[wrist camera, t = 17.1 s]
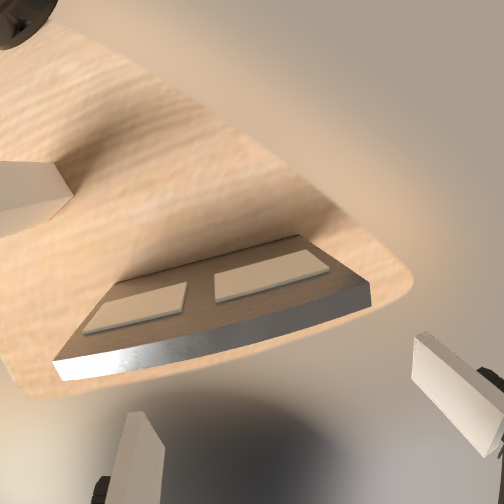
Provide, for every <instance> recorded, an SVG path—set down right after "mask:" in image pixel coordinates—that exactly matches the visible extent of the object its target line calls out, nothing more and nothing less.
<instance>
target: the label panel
mask: <svg viewBox="0 0 504 504" xmlns="http://www.w3.org/2000/svg"><path fill="white" fill-rule="evenodd" d="M370 306H372V305H371V294H370V284H369V282H368V281H366V280H365V279H363V278H362V277H361V276H359V275H358V274H356V273H355V272H353V271H352V270H350V269H349V268H348V267H346V266H345V265H343V264H342V263H340V262H339V261H337V260H336V259H334V258H333V257H331V256H330V255H329V254H327V253H326V252H324V251H323V250H321V249H320V248H318V247H317V246H315V245H314V244H312V243H311V242H309V241H308V240H306V239H305V238H303V237H302V236H300V235H299V234H298V235H294V236H291V237H287V238H283V239H279V240H275V241H272V242H268V243H264V244H260V245H257V246H253V247H249V248H245V249H242V250H238V251H234V252H231V253H227V254H223V255H219V256H216V257H212V258H208V259H204V260H201V261H197V262H193V263H190V264H186V265H182V266H178V267H175V268H171V269H167V270H164V271H160V272H156V273H153V274H149V275H145V276H142V277H138V278H134V279H131V280H127V281H123V282H120V283H116V284H114V285H113V286H112V287H111V288H110V290H109V291H108V292H107V293H106V294H105V296H104V297H103V298H102V299H101V300H100V302H99V303H98V304H97V305H96V306H95V308H94V309H93V310H92V311H91V312H90V314H89V315H88V316H87V317H86V319H85V320H84V321H83V322H82V324H81V325H80V326H79V327H78V329H77V330H76V331H75V332H74V334H73V335H72V336H71V338H70V339H69V340H68V341H67V343H66V344H65V345H64V347H63V348H62V349H61V351H60V352H59V353H58V355H57V356H56V357H55V359H54V360H53V361H52V362H53V364H54V366H55V368H56V369H57V371H58V373H59V375H60V376H61V378H62V380H63V381H67V380H75V379H83V378H90V377H97V376H103V375H110V374H116V373H122V372H128V371H133V370H139V369H144V368H150V367H155V366H160V365H165V364H170V363H174V362H179V361H184V360H188V359H193V358H197V357H201V356H206V355H210V354H214V353H218V352H222V351H226V350H230V349H234V348H238V347H242V346H246V345H250V344H253V343H257V342H261V341H264V340H268V339H271V338H275V337H278V336H282V335H285V334H288V333H292V332H295V331H298V330H302V329H305V328H308V327H311V326H314V325H318V324H321V323H324V322H327V321H330V320H333V319H336V318H339V317H342V316H345V315H348V314H351V313H354V312H356V311H359V310H362V309H365V308H368V307H370Z"/></svg>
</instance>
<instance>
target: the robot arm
mask: <svg viewBox="0 0 504 504" xmlns="http://www.w3.org/2000/svg"><path fill="white" fill-rule="evenodd" d="M57 2H58V0H0V50H7V49H11V48H13V47H15V46H17V45H19V44H21V43H22V42H24V41H25V40H27V39H28V38H29V37H31V36H32V35H33V34H34V33H35V32H36V31H37V30H38V29H39V28H40V27H41V26H42V25H43V24H44V23H45V21H46V20H47V19H48V17H49V16H50V15H51V13H52V12H53V10H54V8H55V6H56V4H57ZM412 380H413V381H414V382H415V383H416V384H417V385H418V386H419V387H420V388H421V389H422V390H423V392H424V393H425V394H426V395H427V396H428V397H429V398H430V399H431V400H432V401H433V402H434V403H435V404H436V406H437V407H438V408H439V409H440V410H441V411H442V412H443V413H444V414H445V415H446V416H447V417H448V419H449V420H450V421H451V422H452V423H453V424H454V425H455V426H456V427H457V428H458V429H459V431H460V432H461V433H462V434H463V435H464V436H465V437H466V438H467V439H468V441H469V442H470V443H471V444H472V445H473V446H474V447H475V448H476V449H477V451H478V452H479V453H480V454H481V455H482V456H483V457H486V456H487V455H488V454H490V453H491V452H492V451H494V450H495V449H496V448H497V446H498V445H499V443H500V441H501V440H502V441H503V442H504V380H503V379H502V378H501V377H500V378H499V376H498V375H497V374H496V373H494V372H493V371H492V370H489V369H486V368H483V367H481V368H479V369H478V370H475V369H474V368H472V367H471V366H470V365H469V364H468V363H466V362H465V361H464V360H462V359H461V358H460V357H459V356H457V355H456V354H455V353H454V352H452V351H451V350H450V349H449V348H447V347H446V346H445V345H444V344H442V343H441V342H439V341H438V340H437V339H436V338H435V337H433V336H432V335H431V334H429V333H428V332H427V331H425V332H423V333H421V334H419V335H417V336H415V337H414V351H413V366H412ZM502 453H503V458H502V473H501V484H500V493H499V500H498V504H504V445H503V447H502V449H501V451H500V453H499V455H498V458H500V457H501V455H502ZM164 454H165V447H164V445H163V444H162V442H161V441H160V440H159V437H158V436H157V434H156V433H155V431H154V429H153V428H152V426H151V424H150V423H149V421H148V419H147V418H146V416H145V414H144V413H143V411H139V412H131V413H128V415H127V419H126V422H125V426H124V429H123V433H122V437H121V441H120V444H119V448H118V451H117V455H116V459H115V463H114V467H113V471H112V475H111V476H102V477H101V478H100V479H99V481H98V482H97V484H96V485H95V489H94V492H93V497H92V500H91V504H160V492H161V481H162V472H163V463H164Z"/></svg>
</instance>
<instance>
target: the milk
mask: <svg viewBox="0 0 504 504" xmlns="http://www.w3.org/2000/svg"><path fill="white" fill-rule="evenodd" d="M73 197H74V195H73V194H72V192H71V190H70V189H69V187H68V186H67V184H66V182H65V181H64V179H63V178H62V176H61V174H60V173H59V171H58V169H57V168H56V166H55V164H54V163H41V162H12V161H0V239H1V238H4V237H6V236H9V235H12V234H15V233H17V232H20V231H23V230H26V229H29V228H32V227H35V226H38V225H41V224H44V223H47V222H48V221H49V220H50V219H51V218H52V217H53V216H54V215H55V214H56V213H57V212H58V211H59V210H60V209H61V208H62V207H63V206H64V205H65V204H67V203H68V202H69V201H70V200H71V199H72V198H73Z"/></svg>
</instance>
